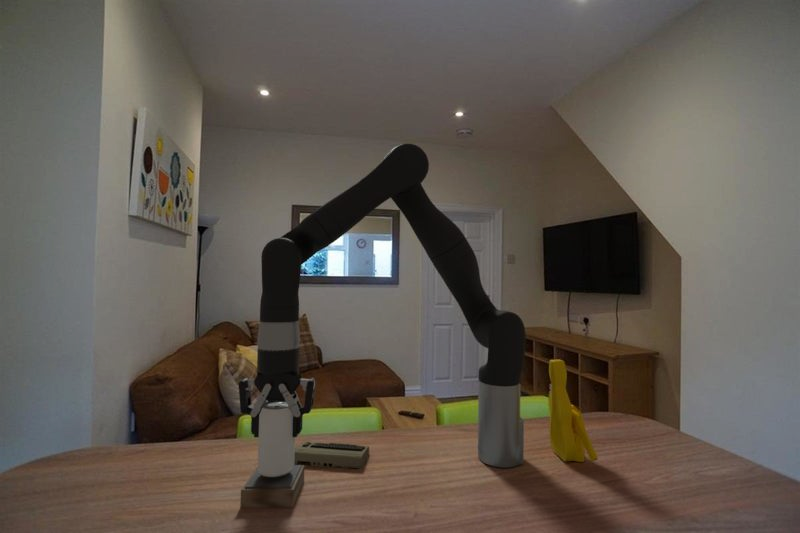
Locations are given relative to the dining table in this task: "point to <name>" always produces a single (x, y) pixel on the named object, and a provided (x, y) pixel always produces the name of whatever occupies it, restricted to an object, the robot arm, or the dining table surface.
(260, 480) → the stand
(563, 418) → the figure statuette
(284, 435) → the can
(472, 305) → the robot arm
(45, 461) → the dining table surface
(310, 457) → the computer
